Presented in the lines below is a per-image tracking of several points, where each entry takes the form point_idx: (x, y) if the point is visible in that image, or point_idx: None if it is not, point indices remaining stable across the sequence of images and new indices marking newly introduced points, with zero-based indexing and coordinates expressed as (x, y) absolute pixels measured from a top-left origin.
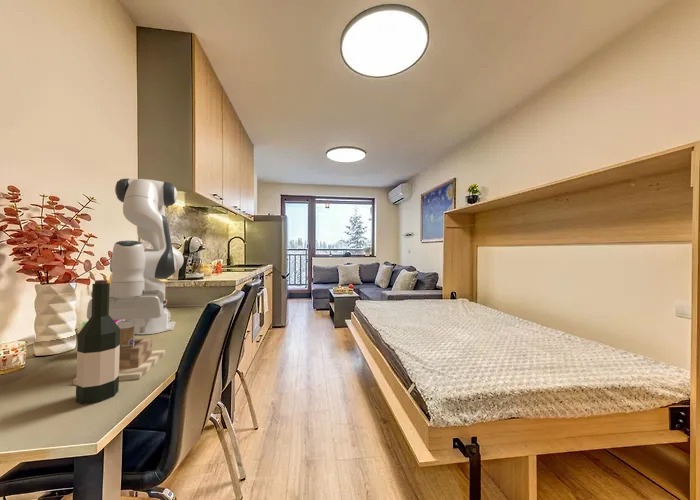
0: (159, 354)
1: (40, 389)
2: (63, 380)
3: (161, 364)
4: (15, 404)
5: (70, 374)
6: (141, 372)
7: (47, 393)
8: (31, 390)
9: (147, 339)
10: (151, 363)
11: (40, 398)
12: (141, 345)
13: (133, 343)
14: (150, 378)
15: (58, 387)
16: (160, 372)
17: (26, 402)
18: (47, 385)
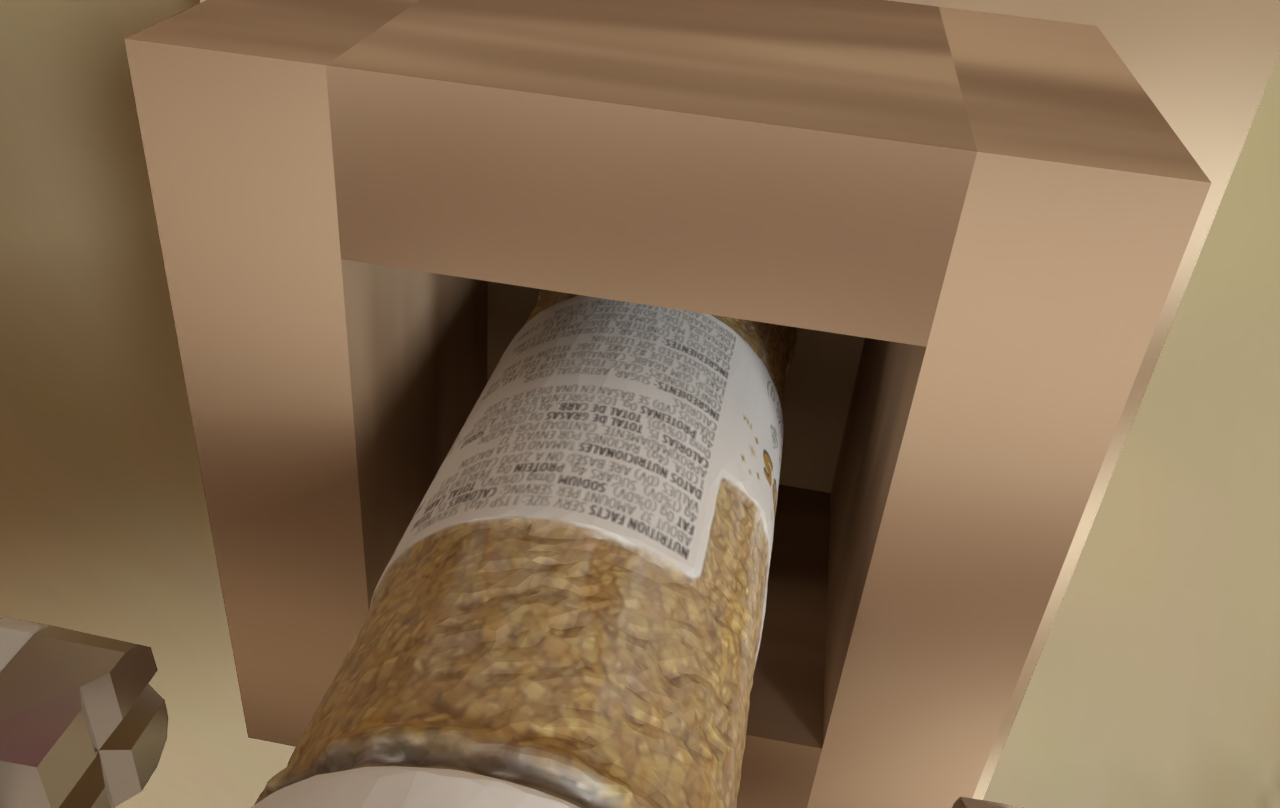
0: (1272, 8)
1: (75, 609)
2: (117, 462)
3: (1258, 351)
4: (129, 804)
5: (45, 286)
6: (995, 764)
7: (214, 715)
8: (10, 601)
9: (1065, 298)
10: (1105, 475)
11: (234, 781)
12: (971, 743)
13: (767, 574)
14: (1097, 773)
15: (212, 627)
16: (1222, 657)
17: (183, 804)
18: (58, 538)
